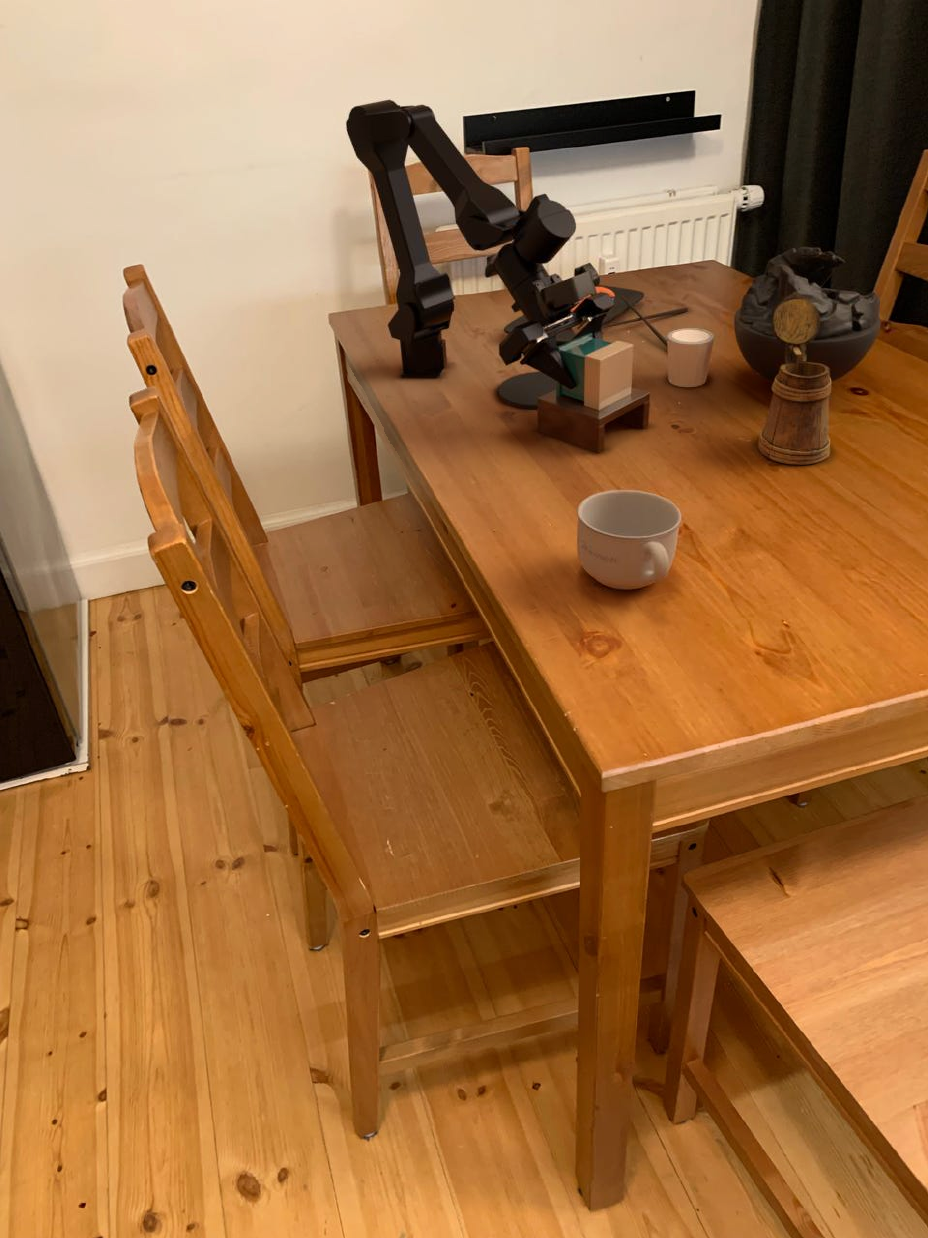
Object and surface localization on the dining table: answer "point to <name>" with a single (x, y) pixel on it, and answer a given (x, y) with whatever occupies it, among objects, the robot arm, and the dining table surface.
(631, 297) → the sushi plate
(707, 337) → the white cup
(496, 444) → the dining table surface
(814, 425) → the wooden mug
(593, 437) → the stand
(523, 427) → the dining table surface
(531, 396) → the mat
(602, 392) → the teal rimmed box
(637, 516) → the teacup
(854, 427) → the dining table surface
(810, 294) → the coal bowl
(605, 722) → the dining table surface
